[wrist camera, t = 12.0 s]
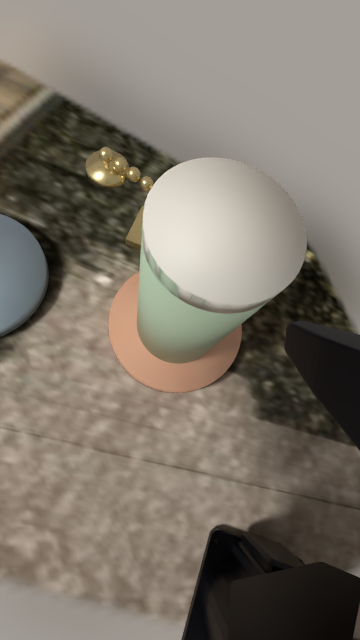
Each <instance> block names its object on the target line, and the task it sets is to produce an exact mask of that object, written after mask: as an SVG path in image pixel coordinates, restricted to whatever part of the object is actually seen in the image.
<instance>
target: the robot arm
mask: <svg viewBox="0 0 360 640" xmlns="http://www.w3.org/2000/svg"><path fill="white" fill-rule="evenodd" d="M284 346H285V351H286V353H287V355H288V356H289V358H290V359H291V361H292V362H293V364H294V366H295V367H296V369H297V370H298V372H299V373H300V375H301V376H302V378H303V379H304V381H305V382H306V384H307V385H308V387H309V388H310V390H311V391H312V392H313V394H314V395H315V396H316V397H317V399H318V400H319V401H320V402H321V404H322V405H323V406H324V407H325V409H326V410H327V411H328V412H329V413H330V415H331V416H332V417H333V418H334V420H335V421H336V422H337V423H338V425H339V426H340V427H341V428H342V429H343V431H344V432H345V433H346V434H347V436H348V437H349V438H350V439H351V440H352V442H353V443H354V444H355V445H356V447H357V448H358V449H359V450H360V335H358V334H354V333H350V332H346V331H342V330H338V329H334V328H330V327H326V326H322V325H318V324H314V323H310V322H306V321H296V322H291V323H289V324H288V325H287V329H286V337H285V345H284ZM216 535H220V540H219V541H214V538H215V536H216ZM182 640H360V578H359V577H357V576H354V575H352V574H350V573H347V572H345V571H343V570H340V569H338V568H336V567H333V566H331V565H329V564H326V563H324V562H316V563H312V564H307V565H305V564H304V563H303V561H302V560H301V559H300V558H298V557H297V556H294V555H293V554H291V553H290V552H289V551H288V550H287V549H286V548H285V547H283V546H282V545H281V544H279V543H276V542H274V541H271V540H268V539H265V538H263V537H260V536H257V535H254V534H252V533H249V532H245V533H243V535H242V536H239V535H236V534H234V533H231V532H228V531H225V530H223V529H220V528H214V529H212V530H211V532H210V534H209V538H208V541H207V545H206V549H205V553H204V556H203V560H202V564H201V568H200V572H199V575H198V579H197V583H196V587H195V591H194V594H193V598H192V602H191V606H190V610H189V613H188V617H187V621H186V625H185V629H184V632H183V636H182Z"/></svg>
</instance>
